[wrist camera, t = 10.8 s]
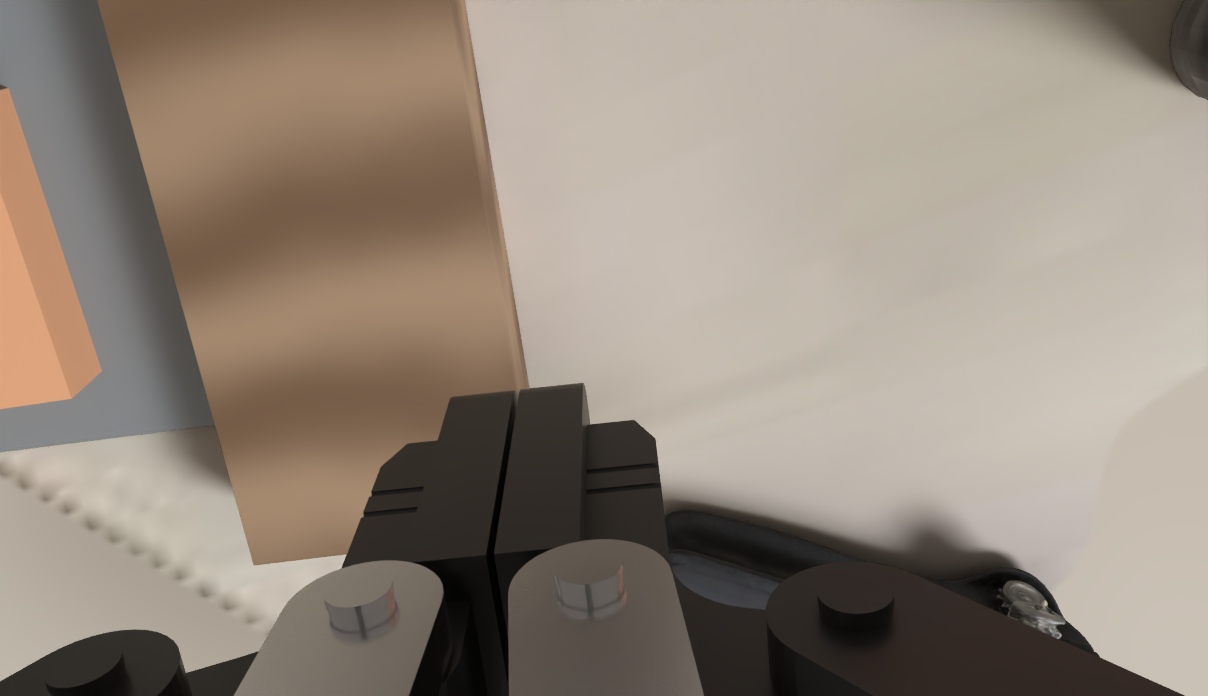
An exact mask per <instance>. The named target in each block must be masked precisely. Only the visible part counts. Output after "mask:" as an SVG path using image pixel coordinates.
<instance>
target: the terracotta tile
mask: <svg viewBox="0 0 1208 696" xmlns="http://www.w3.org/2000/svg"><path fill="white" fill-rule="evenodd" d="M101 372H102V369H101V366H100V363H99V360H98V357H97V354H96V351H95V348H94V345H93V342H92V339H91V336H90V333H89V330H88V327H87V324H86V321H85V318H84V315H83V312H82V309H81V306H80V303H79V300H78V297H77V294H76V291H75V288H74V285H73V282H72V279H71V276H70V273H69V270H68V267H67V264H66V261H65V258H64V255H63V252H62V249H61V245H60V242H59V239H58V236H57V233H56V230H55V227H54V224H53V221H52V218H51V215H50V212H49V209H48V206H47V203H46V200H45V197H44V194H43V191H42V188H41V185H40V182H39V179H38V176H37V173H36V170H35V167H34V164H33V161H32V158H31V155H30V152H29V149H28V146H27V143H26V140H25V137H24V134H23V131H22V128H21V125H20V122H19V119H18V116H17V113H16V110H15V107H14V104H13V101H12V97H11V94H10V91H9V88H5V89H0V409H5V408H12V407H19V406H26V405H32V404H39V403H46V402H53V401H60V400H67V399H72V398H73V397H74V396H75V395H76V394H78V393H79V392H80V391H81V390H82V389H83V388H84V387H85V386H86V385H87V384H89V383H90V382H91V381H92V380H93V379H94V378H95V377H96V376H97V375H98V374H100V373H101Z"/></svg>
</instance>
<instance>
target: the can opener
mask: <svg viewBox="0 0 1208 696" xmlns="http://www.w3.org/2000/svg"><path fill="white" fill-rule="evenodd" d="M665 525H666V533H667V542H668V550H669V559H670V564H671V568H672V570H673V572H674V574H675V576H676V577H677V578H678V579H679V580H680V582H681V583H682V584H683V585H685V586H686V587H687V588H689V589H690V590H691V591H693V592H695V593H697V594H699V595H700V596H702V597H705V598H707V599H710V600H713V601H715V602H719V603H723V604H727V605H731V606H738V607H744V608H753V609H762V610H766V605H767V602H768V599H769V597H770V595H771V594H772V592H773V591H774V590H775V589H776V588H777V587H778V585H779V584H780V583H782V582H783V581H785V580H786V579H787V578H789V577H791V576H793V575H795V574H796V573H798V572H800V571H803V570H806V569H809V568H812V567H815V566H820V565H824V564H830V563H838V562H866V561H863V560H860V559H857V558H855V557H852V556H849V555H846V554H843V553H841V552H838V551H835V550H832V549H829V548H826V547H823V546H821V545H818V544H814V543H811V542H809V541H806V540H803V539H800V538H796V537H793V536H790V535H787V534H784V533H781V532H777V531H774V530H770V529H767V528H763V527H760V526H756V525H752V524H748V523H744V522H740V521H736V520H732V519H728V518H724V517H719V516H714V515H709V514H703V513H699V512H694V511H678V512H673V513H671V514H668V515H667V516H665ZM926 580H928V581H930V582H932V583H935V584H937V585H939V586H941V587H943V588H946V589H948V590H950V591H952V592H955V593H957V594H959V595H961V596H964V597H966V598H968V599H970V600H972V601H975V602H977V603H979V604H981V605H984V606H986V607H988V608H990V609H993V610H995V611H997V612H999V613H1001V614H1004V615H1006V616H1008V617H1010V618H1013V619H1015V620H1017V621H1019V622H1021V623H1024V624H1026V625H1028V626H1030V627H1033V628H1035V629H1037V630H1039V631H1042V632H1044V633H1046V634H1048V635H1050V636H1053V637H1055V638H1057V639H1059V640H1062V641H1064V642H1066V643H1068V644H1071V645H1073V646H1075V647H1077V648H1079V649H1082V650H1084V651H1086V652H1088V653H1091V654H1093V655H1095V656H1097V657H1099V655H1098V654H1097V653H1096V652H1094V650H1093V648H1092V647H1091V645H1090V644H1089V643H1088V641H1087V640H1086V639H1085V637H1083V636H1082V634H1081V633H1080V632H1079V631H1078V630H1076V629H1075V628H1074V627H1073V626H1072V625H1071V624H1070V623H1068V622H1067V621H1066V620H1065V619H1064V617H1063V615H1062V614H1061V612H1060V610H1059V608H1058V605H1057V603H1056V601H1055V599H1054V598H1053V596H1052V594H1051V593H1050V592H1049V591H1048V589H1047V588H1046V587H1045V585H1044V584H1043V583H1041V582H1040V581H1039V580H1038V579H1037V578H1036V577H1034V576H1033V575H1031V574H1030V573H1027V572H1025V571H1023V570H1020V569H1016V568H998V569H994V570H990V571H986V572H983V573H980V574H977V575H975V576H972V577H969V578H966V579H962V580H959V581H941V580H932V579H926Z"/></svg>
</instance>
